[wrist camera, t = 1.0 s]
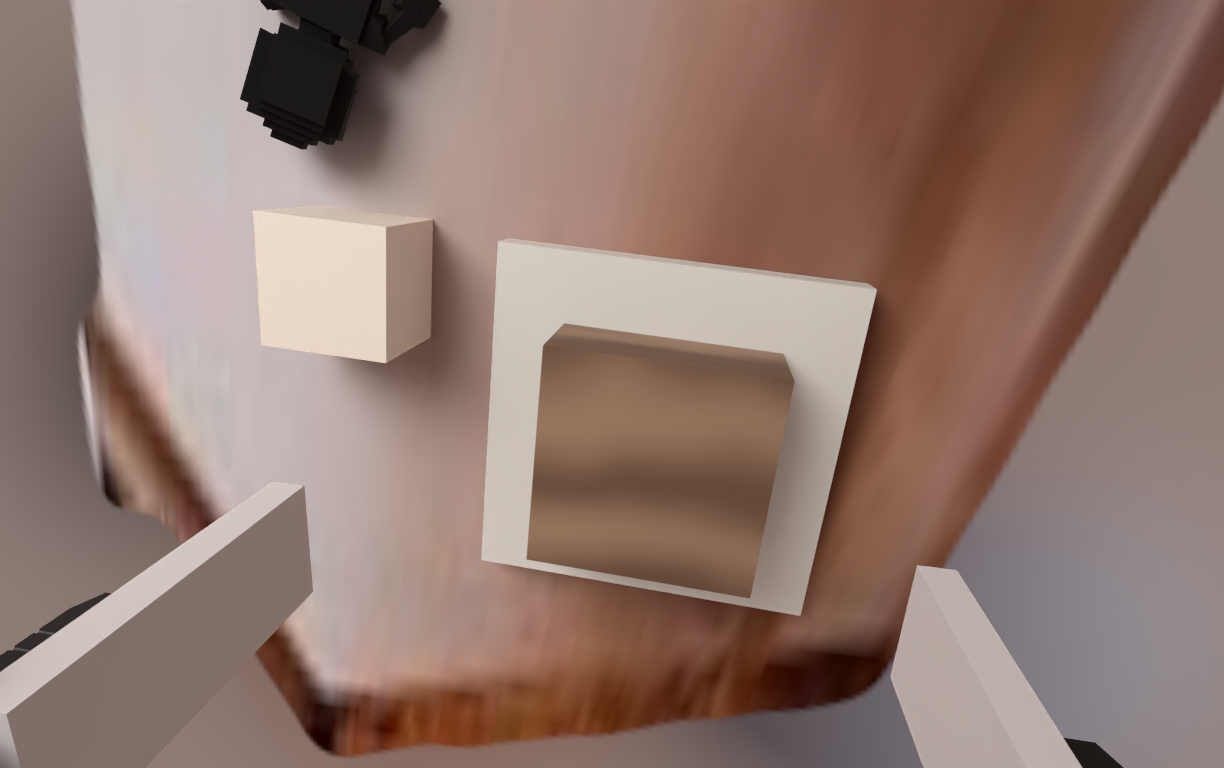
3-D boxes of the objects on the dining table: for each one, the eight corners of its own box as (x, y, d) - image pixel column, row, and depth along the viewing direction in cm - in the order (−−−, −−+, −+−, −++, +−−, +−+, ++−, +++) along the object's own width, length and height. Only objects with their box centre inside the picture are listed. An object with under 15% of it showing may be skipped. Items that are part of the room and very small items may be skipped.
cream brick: (319, 205, 39) (253, 210, 33) (434, 219, 38) (386, 227, 33) (323, 321, 41) (261, 345, 35) (431, 336, 40) (386, 363, 35)
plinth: (508, 237, 38) (498, 241, 36) (867, 283, 36) (876, 289, 34) (491, 543, 44) (481, 559, 42) (796, 596, 42) (800, 616, 40)
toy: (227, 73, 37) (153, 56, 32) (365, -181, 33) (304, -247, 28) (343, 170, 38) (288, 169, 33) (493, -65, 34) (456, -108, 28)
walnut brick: (564, 323, 37) (542, 345, 32) (783, 353, 36) (794, 380, 31) (547, 514, 41) (526, 559, 36) (745, 547, 39) (750, 598, 35)
